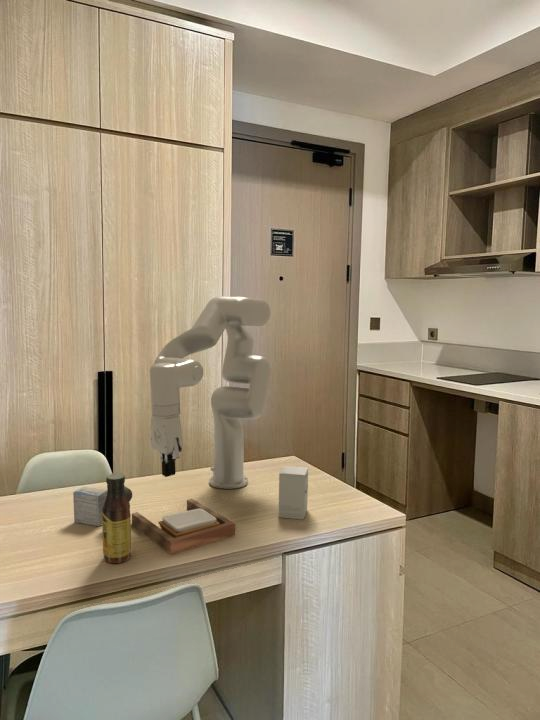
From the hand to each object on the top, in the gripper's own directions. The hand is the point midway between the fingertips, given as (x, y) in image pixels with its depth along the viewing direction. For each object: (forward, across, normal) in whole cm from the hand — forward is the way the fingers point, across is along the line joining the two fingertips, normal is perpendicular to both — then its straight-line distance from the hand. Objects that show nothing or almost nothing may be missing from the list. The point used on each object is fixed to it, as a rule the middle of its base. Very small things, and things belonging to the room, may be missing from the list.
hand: (168, 474), depth 150 cm
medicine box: (+11, -9, -19) cm, 24 cm away
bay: (+11, +8, -4) cm, 15 cm away
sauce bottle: (+11, +15, -22) cm, 28 cm away
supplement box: (+13, +19, +28) cm, 36 cm away
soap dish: (+12, +14, -2) cm, 18 cm away
